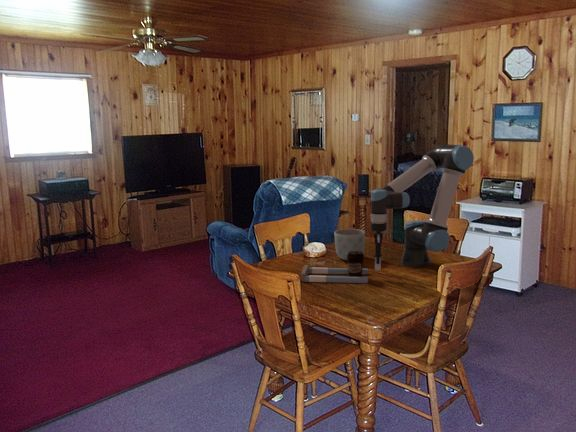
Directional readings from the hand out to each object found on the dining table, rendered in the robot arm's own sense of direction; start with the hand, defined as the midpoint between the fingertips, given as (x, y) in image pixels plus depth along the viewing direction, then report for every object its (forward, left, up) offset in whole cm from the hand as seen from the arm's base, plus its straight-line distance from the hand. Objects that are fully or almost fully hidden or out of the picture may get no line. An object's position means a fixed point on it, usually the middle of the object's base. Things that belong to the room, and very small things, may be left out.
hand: (377, 269), depth 255 cm
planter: (+15, -35, -5) cm, 38 cm away
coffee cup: (+11, 0, -5) cm, 12 cm away
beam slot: (+20, 0, -5) cm, 20 cm away
